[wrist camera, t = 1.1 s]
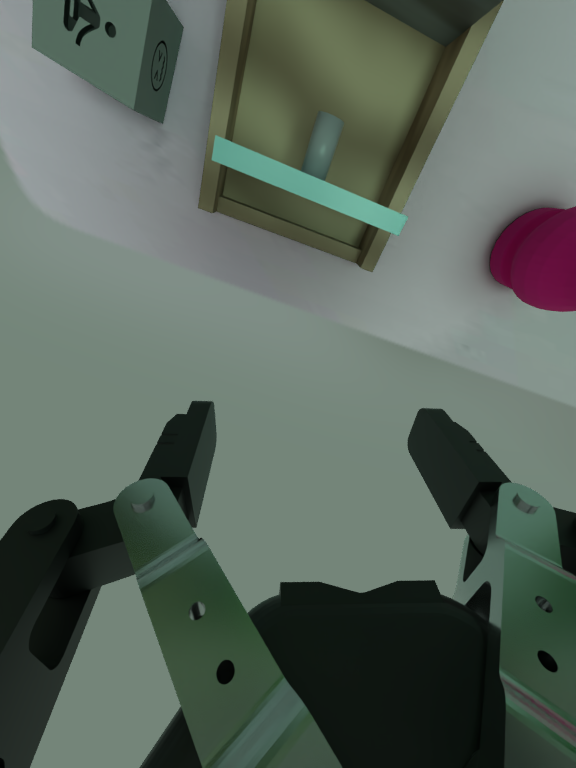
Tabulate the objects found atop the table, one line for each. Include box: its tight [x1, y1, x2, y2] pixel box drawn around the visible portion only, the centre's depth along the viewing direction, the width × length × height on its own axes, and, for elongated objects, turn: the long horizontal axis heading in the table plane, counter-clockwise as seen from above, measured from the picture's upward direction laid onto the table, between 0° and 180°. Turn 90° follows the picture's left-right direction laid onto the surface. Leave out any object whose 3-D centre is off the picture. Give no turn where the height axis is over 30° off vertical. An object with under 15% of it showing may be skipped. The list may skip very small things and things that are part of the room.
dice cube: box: [32, 0, 184, 124], centre depth 16 cm, size 5×5×5 cm
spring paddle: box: [212, 111, 408, 236], centre depth 18 cm, size 4×11×8 cm, turn 71°
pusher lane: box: [198, 0, 504, 272], centre depth 17 cm, size 16×14×7 cm
